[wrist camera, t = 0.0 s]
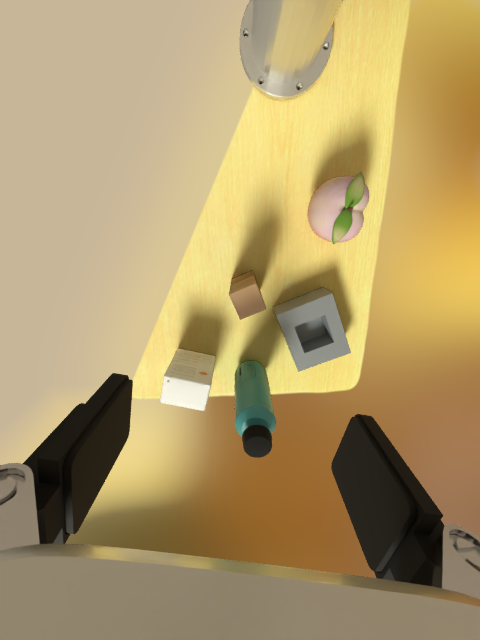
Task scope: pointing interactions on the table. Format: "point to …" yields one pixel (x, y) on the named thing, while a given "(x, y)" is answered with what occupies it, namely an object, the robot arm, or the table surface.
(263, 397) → the beverage bottle
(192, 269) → the table surface
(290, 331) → the socket block
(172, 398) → the small box
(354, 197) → the decorative fruit
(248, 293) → the walnut peg
